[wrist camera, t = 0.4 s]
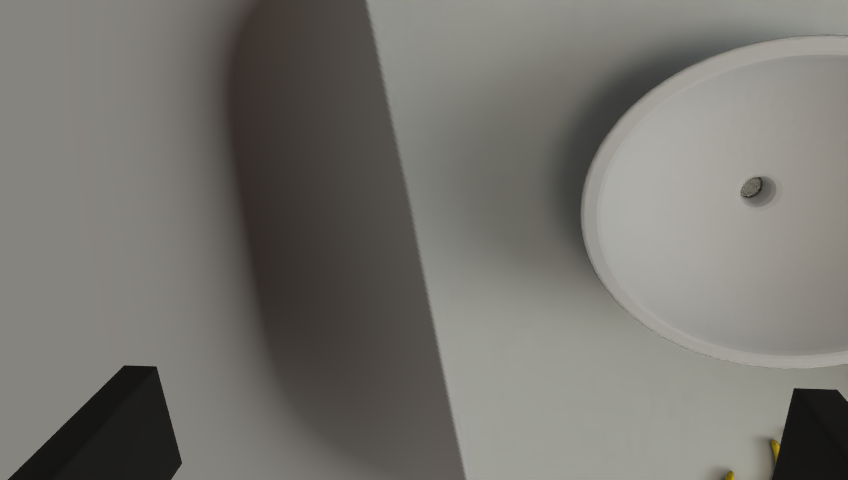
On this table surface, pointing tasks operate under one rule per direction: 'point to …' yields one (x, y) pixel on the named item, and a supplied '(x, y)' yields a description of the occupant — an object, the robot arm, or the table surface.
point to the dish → (732, 205)
